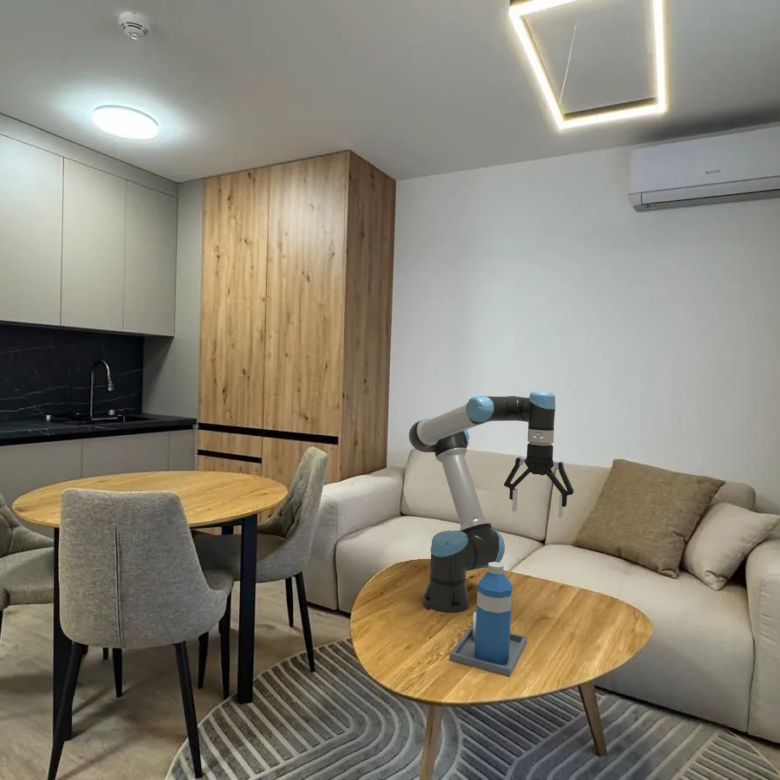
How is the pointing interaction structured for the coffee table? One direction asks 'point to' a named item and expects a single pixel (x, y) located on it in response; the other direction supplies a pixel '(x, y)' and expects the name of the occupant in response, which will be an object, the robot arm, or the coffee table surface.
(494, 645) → the water bottle
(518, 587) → the coffee table surface
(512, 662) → the tray
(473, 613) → the white rounded column
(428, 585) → the robot arm
